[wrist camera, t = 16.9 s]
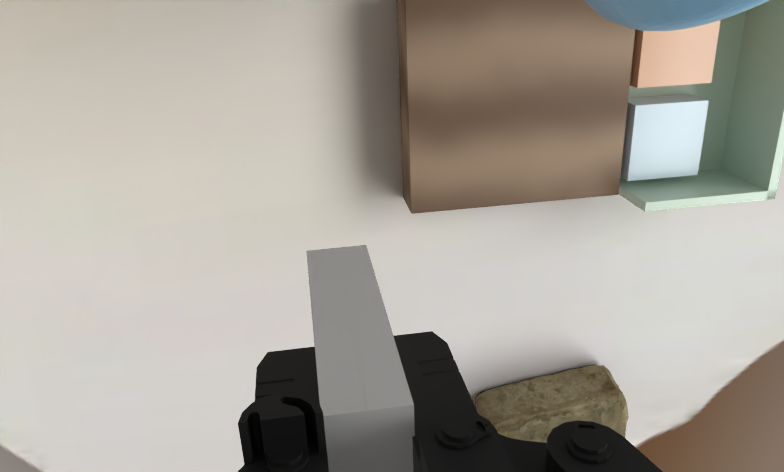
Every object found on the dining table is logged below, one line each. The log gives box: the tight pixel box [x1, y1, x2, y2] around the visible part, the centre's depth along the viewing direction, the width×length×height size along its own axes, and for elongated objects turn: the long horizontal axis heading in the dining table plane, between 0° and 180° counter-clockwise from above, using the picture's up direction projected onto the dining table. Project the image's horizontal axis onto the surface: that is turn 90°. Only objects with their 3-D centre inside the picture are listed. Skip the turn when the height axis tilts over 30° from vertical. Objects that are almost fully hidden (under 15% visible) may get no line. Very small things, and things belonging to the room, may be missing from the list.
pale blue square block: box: [620, 94, 709, 181], centre depth 44 cm, size 5×5×2 cm
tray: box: [619, 0, 784, 211], centre depth 42 cm, size 14×9×6 cm, turn 2°
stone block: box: [476, 366, 628, 443], centre depth 51 cm, size 6×12×5 cm, turn 100°
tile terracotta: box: [630, 20, 721, 88], centre depth 41 cm, size 5×5×2 cm
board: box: [397, 0, 635, 213], centre depth 41 cm, size 13×14×3 cm
